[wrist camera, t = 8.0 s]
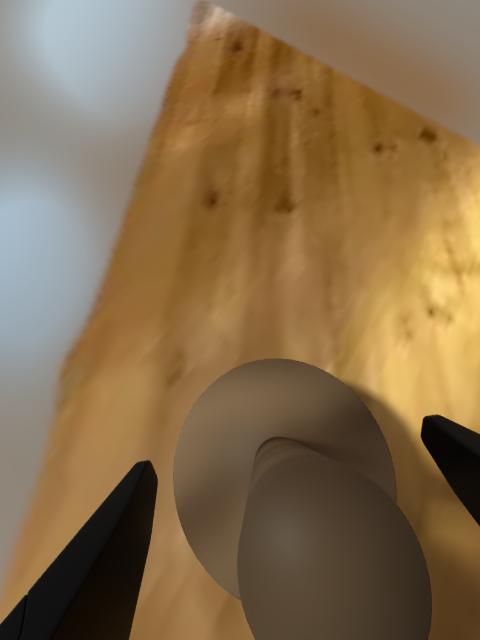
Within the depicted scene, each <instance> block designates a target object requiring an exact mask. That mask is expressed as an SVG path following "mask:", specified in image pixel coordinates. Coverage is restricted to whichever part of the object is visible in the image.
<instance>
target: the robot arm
mask: <svg viewBox="0 0 480 640" xmlns="http://www.w3.org/2000/svg"><path fill="white" fill-rule="evenodd" d="M421 439H422V441H423V443H424V445H425V447H426V448H427V450H428V451H429V453H430V455H431V456H432V458H433V459H434V461H435V463H436V464H437V466H438V467H439V469H440V470H441V472H442V474H443V475H444V477H445V478H446V480H447V482H448V483H449V485H450V486H451V488H452V489H453V491H454V492H455V494H456V495H457V496H458V498H459V499H460V501H461V502H462V503H463V505H464V506H465V507H466V509H467V510H468V511H469V513H470V514H471V515H472V517H473V518H474V519H475V521H476V522H477V523H478V525H479V526H480V434H478V433H476V432H474V431H472V430H470V429H468V428H466V427H464V426H462V425H460V424H457V423H455V422H453V421H451V420H449V419H447V418H445V417H443V416H441V415H429V416H425V417H424V418H423V423H422V429H421ZM157 486H158V479H157V475H156V473H155V470H154V468H153V465H152V463H151V461H149V460H146V461H140V462H137V463H136V464H135V465H134V466H133V467H132V468H131V470H130V471H129V472H128V473H127V474H126V476H125V477H124V478H123V479H122V480H121V482H120V483H119V484H118V485H117V486H116V488H115V489H114V490H113V491H112V492H111V493H110V495H109V496H108V497H107V498H106V499H105V501H104V502H103V503H102V504H101V505H100V507H99V508H98V509H97V510H96V511H95V513H94V514H93V515H92V516H91V517H90V518H89V520H88V521H87V522H86V523H85V524H84V526H83V527H82V528H81V529H80V530H79V532H78V533H77V534H76V535H75V536H74V538H73V539H72V540H71V541H70V542H69V543H68V545H67V546H66V547H65V548H64V549H63V551H62V552H61V553H60V554H59V555H58V557H57V558H56V559H55V560H54V561H53V563H52V564H51V565H50V566H49V567H48V568H47V570H46V571H45V572H44V573H43V574H42V576H41V577H40V578H39V579H38V580H37V582H36V583H35V584H34V585H33V586H32V588H31V589H30V590H29V591H28V595H25V596H24V597H23V598H22V599H21V600H20V602H19V603H18V604H17V605H16V606H15V608H14V609H13V610H12V611H11V612H10V614H9V615H8V616H7V617H6V618H5V619H4V621H3V622H2V623H1V624H0V640H129V637H130V632H131V628H132V623H133V618H134V614H135V609H136V605H137V600H138V596H139V591H140V586H141V582H142V577H143V573H144V568H145V564H146V559H147V555H148V550H149V545H150V540H151V533H152V526H153V518H154V510H155V502H156V494H157Z"/></svg>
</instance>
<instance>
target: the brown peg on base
mask: <svg viewBox="0 0 480 640" xmlns="http://www.w3.org/2000/svg"><path fill="white" fill-rule="evenodd" d="M173 483H174V496H175V502H176V508H177V512H178V516H179V519H180V523H181V526H182V529H183V531H184V534H185V536H186V538H187V541H188V543H189V545H190V547H191V548H192V550H193V552H194V554H195V556H196V557H197V559H198V560H199V561H200V563H201V564H202V566H203V567H204V568H205V570H206V571H207V572H208V573H209V574H210V575H211V577H212V578H213V579H214V580H215V581H216V582H217V583H218V584H219V585H220V586H222V587H223V588H224V589H225V590H227V591H228V592H229V593H230V594H232V595H233V596H234V597H236V598H238V599H240V600H241V601H242V606H243V609H244V612H245V615H246V619H247V622H248V624H249V627H250V629H251V631H252V633H253V636H254V638H255V640H428V636H429V632H430V626H431V614H432V597H431V587H430V579H429V574H428V570H427V565H426V561H425V558H424V555H423V552H422V549H421V546H420V544H419V542H418V539H417V537H416V535H415V533H414V531H413V529H412V527H411V525H410V524H409V522H408V520H407V518H406V517H405V515H404V514H403V512H402V511H401V510H400V508H399V507H398V506H397V504H396V481H395V472H394V467H393V463H392V459H391V455H390V452H389V449H388V446H387V443H386V440H385V438H384V436H383V434H382V432H381V430H380V427H379V425H378V424H377V422H376V420H375V419H374V417H373V416H372V414H371V412H370V411H369V410H368V408H367V407H366V406H365V404H364V403H363V402H362V401H361V399H360V398H359V397H358V396H357V395H356V394H355V393H354V392H353V391H352V390H351V389H350V388H349V387H347V386H346V385H345V384H344V383H342V382H341V381H340V380H339V379H337V378H336V377H334V376H332V375H331V374H329V373H328V372H326V371H324V370H322V369H320V368H318V367H315V366H313V365H310V364H307V363H304V362H300V361H295V360H289V359H264V360H258V361H253V362H250V363H247V364H243V365H241V366H239V367H237V368H234V369H232V370H230V371H229V372H227V373H226V374H224V375H222V376H221V377H220V378H218V379H217V380H216V381H215V382H213V383H212V384H211V385H210V386H209V387H208V388H207V389H206V390H205V391H204V392H203V393H202V394H201V396H200V397H199V398H198V400H197V401H196V402H195V404H194V405H193V407H192V409H191V411H190V412H189V414H188V416H187V418H186V420H185V422H184V425H183V427H182V429H181V433H180V436H179V439H178V442H177V447H176V452H175V458H174V470H173Z"/></svg>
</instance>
